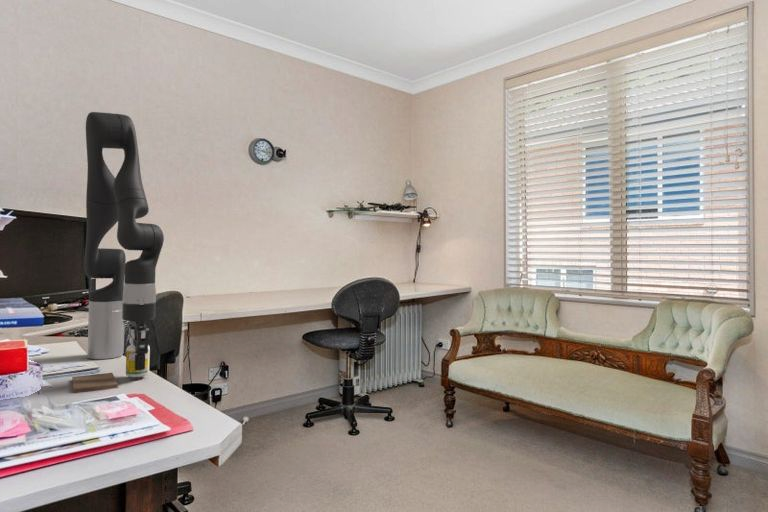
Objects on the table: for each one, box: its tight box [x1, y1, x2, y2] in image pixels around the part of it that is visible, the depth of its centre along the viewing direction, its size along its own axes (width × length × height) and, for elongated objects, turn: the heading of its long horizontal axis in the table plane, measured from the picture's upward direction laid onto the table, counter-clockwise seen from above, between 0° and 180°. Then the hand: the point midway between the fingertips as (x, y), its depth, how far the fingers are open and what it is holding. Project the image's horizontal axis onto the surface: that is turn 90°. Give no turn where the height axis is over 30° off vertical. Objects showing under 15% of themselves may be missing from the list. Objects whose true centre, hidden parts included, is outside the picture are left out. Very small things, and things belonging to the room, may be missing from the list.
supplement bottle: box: [125, 337, 151, 378], centre depth 119 cm, size 5×5×10 cm
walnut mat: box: [71, 372, 118, 394], centre depth 113 cm, size 13×9×1 cm, turn 35°
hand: (137, 366), depth 119 cm, fingers closed on supplement bottle, 5 cm apart
